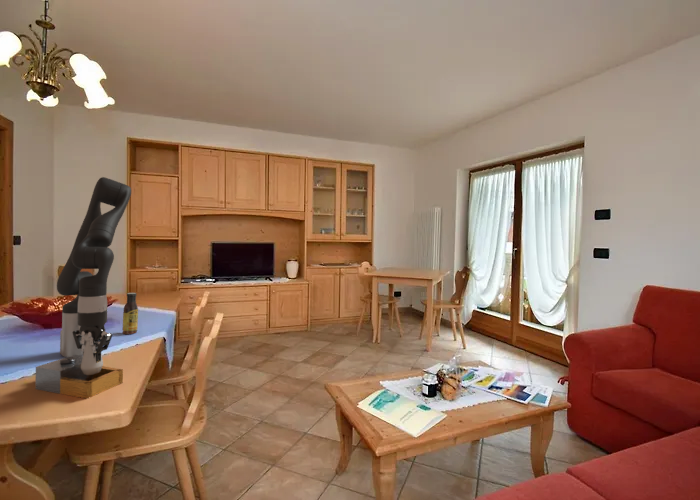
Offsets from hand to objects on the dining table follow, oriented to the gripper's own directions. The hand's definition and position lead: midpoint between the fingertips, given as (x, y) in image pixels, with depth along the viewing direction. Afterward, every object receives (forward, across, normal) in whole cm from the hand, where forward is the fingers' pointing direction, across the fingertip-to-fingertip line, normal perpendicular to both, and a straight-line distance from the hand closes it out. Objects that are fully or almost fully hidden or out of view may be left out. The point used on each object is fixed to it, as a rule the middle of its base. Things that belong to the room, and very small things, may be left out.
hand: (92, 362), depth 109 cm
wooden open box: (+8, -6, 0) cm, 10 cm away
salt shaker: (+3, 0, 0) cm, 3 cm away
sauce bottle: (+8, -39, +52) cm, 66 cm away
